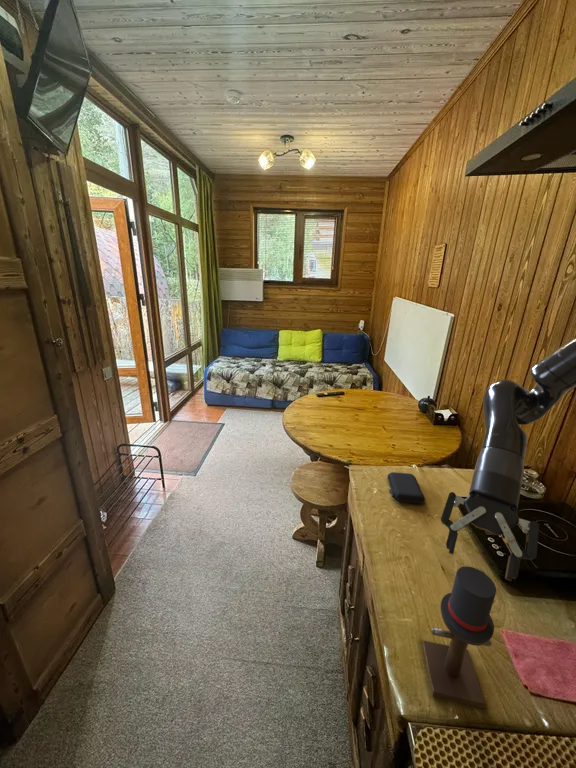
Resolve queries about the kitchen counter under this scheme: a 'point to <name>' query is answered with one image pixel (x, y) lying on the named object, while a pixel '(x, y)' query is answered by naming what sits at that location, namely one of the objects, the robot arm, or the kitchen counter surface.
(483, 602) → the hat
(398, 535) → the kitchen counter surface
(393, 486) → the carrying case
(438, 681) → the coat stand
